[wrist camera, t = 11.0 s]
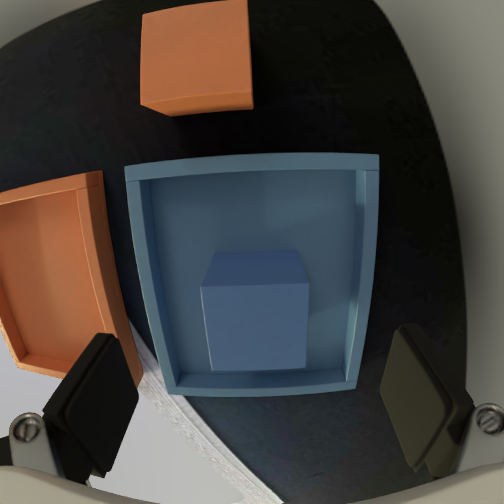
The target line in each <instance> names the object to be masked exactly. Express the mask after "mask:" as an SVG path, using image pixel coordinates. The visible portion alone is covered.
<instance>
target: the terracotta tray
mask: <svg viewBox="0 0 504 504" xmlns="http://www.w3.org/2000/svg"><path fill="white" fill-rule="evenodd" d="M0 329H1V332H2V334H3V337H4V339H5V341H6V344H7V346H8V348H9V351H10V353H11V355H12V357H13V359H14V361H15V363H16V365H17V367H18V368H21V369H24V370H28V371H32V372H36V373H39V374H44V375H48V376H52V377H56V378H61V379H64V377H65V376H66V374H67V373H68V372H69V370H70V369H71V367H72V366H73V365H74V363H75V362H76V360H77V359H78V358H79V356H80V355H81V353H82V352H83V351H84V349H85V348H86V347H87V345H88V344H89V343H90V341H91V340H92V339H93V337H94V336H95V335H96V334H97V333H99V332H101V333H112V334H114V335H115V337H116V338H118V339H119V340H120V343H121V346H122V349H123V352H124V355H125V358H126V361H127V364H128V366H129V369H130V372H131V375H132V377H133V380H134V383H135V385H136V388H137V387H138V385H139V383H140V381H141V379H142V377H143V374H144V373H143V370H142V367H141V364H140V360H139V357H138V354H137V350H136V347H135V344H134V340H133V337H132V333H131V329H130V325H129V322H128V318H127V314H126V310H125V306H124V301H123V297H122V293H121V288H120V284H119V279H118V274H117V269H116V264H115V259H114V253H113V248H112V242H111V236H110V229H109V222H108V215H107V208H106V200H105V191H104V181H103V171H102V170H101V171H95V172H88V173H82V174H77V175H72V176H67V177H63V178H58V179H53V180H49V181H44V182H40V183H36V184H32V185H28V186H24V187H20V188H16V189H12V190H8V191H5V192H1V193H0Z"/></svg>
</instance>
